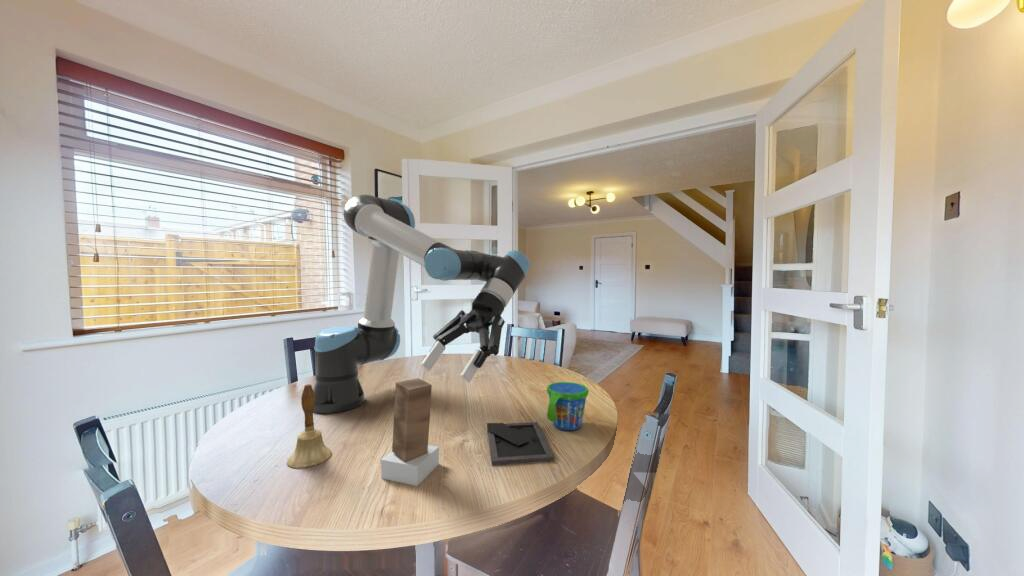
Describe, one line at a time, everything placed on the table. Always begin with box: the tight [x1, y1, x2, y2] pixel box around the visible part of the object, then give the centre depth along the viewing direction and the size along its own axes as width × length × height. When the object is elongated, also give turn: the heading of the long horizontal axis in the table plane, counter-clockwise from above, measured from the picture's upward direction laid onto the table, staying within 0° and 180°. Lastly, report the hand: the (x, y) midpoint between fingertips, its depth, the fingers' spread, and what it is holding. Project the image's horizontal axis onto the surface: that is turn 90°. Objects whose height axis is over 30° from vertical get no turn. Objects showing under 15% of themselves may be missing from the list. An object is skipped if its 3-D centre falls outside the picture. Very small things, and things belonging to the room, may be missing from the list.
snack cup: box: [546, 381, 590, 431], centre depth 91 cm, size 16×10×10 cm
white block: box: [380, 444, 440, 487], centre depth 70 cm, size 8×8×4 cm
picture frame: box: [486, 421, 555, 466], centre depth 81 cm, size 13×2×18 cm
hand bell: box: [286, 383, 333, 469], centre depth 74 cm, size 8×8×16 cm
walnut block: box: [391, 377, 433, 462], centre depth 69 cm, size 5×5×14 cm
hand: (443, 372), depth 75 cm, fingers open, 13 cm apart
